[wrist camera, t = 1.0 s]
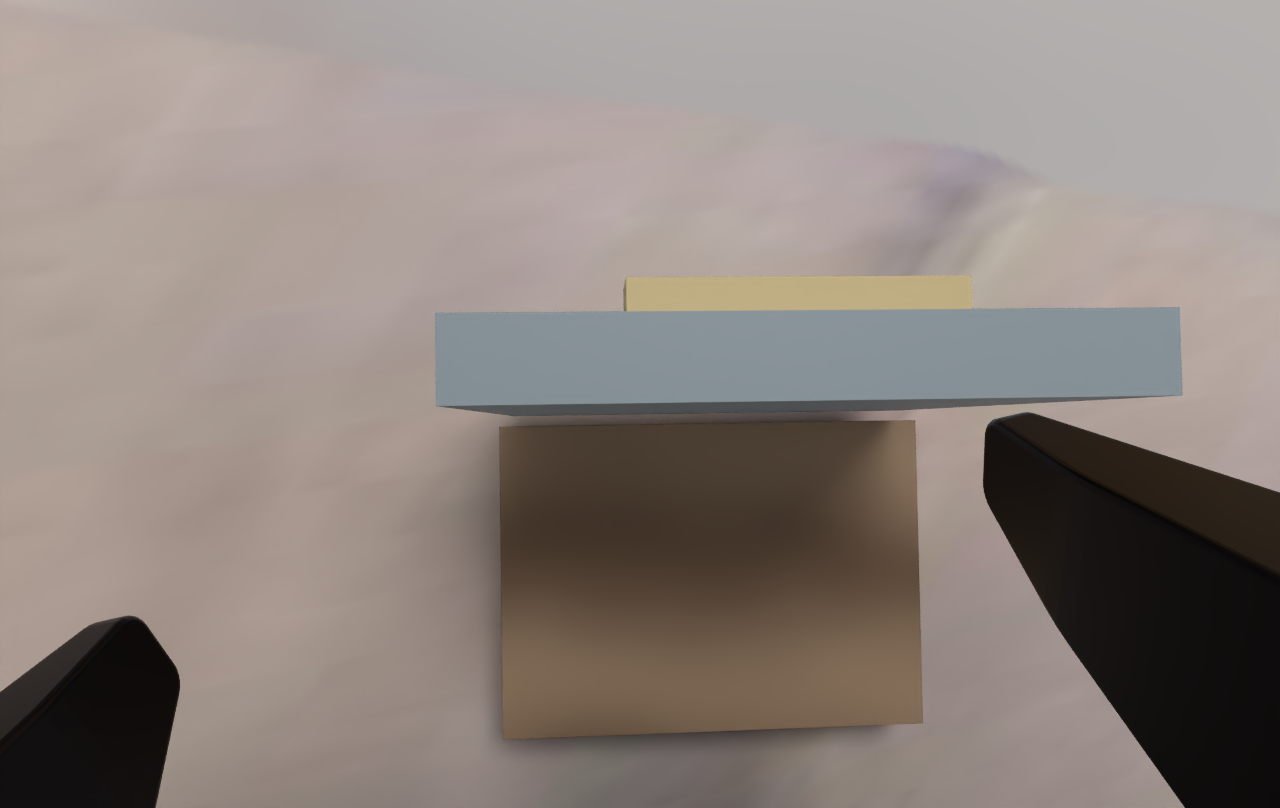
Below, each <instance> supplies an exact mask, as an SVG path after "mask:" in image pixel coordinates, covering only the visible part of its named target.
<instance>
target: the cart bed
mask: <svg viewBox="0 0 1280 808" xmlns="http://www.w3.org/2000/svg"><path fill="white" fill-rule="evenodd" d="M499 432H500V523H501V614H502V705H503V740H505V739H531V738H557V737H582V736H608V735H634V734H659V733H685V732H710V731H736V730H762V729H787V728H813V727H839V726H864V725H890V724H916V723H923V708H922V669H921V630H920V590H919V551H918V512H917V473H916V433H915V420H902V421H839V422H776V423H713V424H650V425H586V426H523V427H499Z"/></svg>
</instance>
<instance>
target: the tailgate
mask: <svg viewBox="0 0 1280 808" xmlns="http://www.w3.org/2000/svg"><path fill="white" fill-rule="evenodd" d="M623 292H624V311H616V312H480V313H435V339H436V406H440V407H448V408H455V409H463V410H471V411H479V412H487V413H495V414H502V415H510V416H553V415H619V414H686V413H752V412H819V411H885V410H913V409H933V408H952V407H971V406H990V405H1009V404H1028V403H1047V402H1066V401H1085V400H1104V399H1123V398H1143V397H1162V396H1181V395H1183V394H1182V366H1181V337H1180V308H1179V307H1160V308H1024V309H972V279H971V276H786V277H626V280H625V285H624V289H623Z"/></svg>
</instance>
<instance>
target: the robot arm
mask: <svg viewBox="0 0 1280 808" xmlns="http://www.w3.org/2000/svg"><path fill="white" fill-rule="evenodd" d="M983 488H984V493H985V497H986V500H987V503H988V505H989V507H990V509H991V511H992V513H993V514H994V516H995V518H996V520H997V522H998V523H999V525H1000V527H1001V529H1002V531H1003V532H1004V534H1005V536H1006V538H1007V540H1008V541H1009V543H1010V545H1011V547H1012V549H1013V550H1014V552H1015V554H1016V556H1017V558H1018V559H1019V561H1020V563H1021V565H1022V567H1023V568H1024V570H1025V572H1026V574H1027V576H1028V577H1029V579H1030V581H1031V583H1032V585H1033V586H1034V588H1035V590H1036V592H1037V594H1038V595H1039V597H1040V599H1041V601H1042V603H1043V604H1044V606H1045V608H1046V609H1047V611H1048V613H1049V615H1050V616H1051V618H1052V620H1053V621H1054V623H1055V625H1056V626H1057V628H1058V629H1059V631H1060V632H1061V634H1062V635H1063V637H1064V638H1065V640H1066V641H1067V643H1068V644H1069V646H1070V647H1071V648H1072V650H1073V651H1074V653H1075V654H1076V655H1077V657H1078V658H1079V660H1080V661H1081V662H1082V664H1083V665H1084V667H1085V668H1086V669H1087V671H1088V672H1089V674H1090V675H1091V677H1092V678H1093V679H1094V681H1095V682H1096V684H1097V685H1098V686H1099V688H1100V689H1101V691H1102V692H1103V693H1104V695H1105V696H1106V698H1107V699H1108V700H1109V702H1110V703H1111V705H1112V706H1113V707H1114V709H1115V710H1116V712H1117V713H1118V714H1119V716H1120V717H1121V719H1122V720H1123V721H1124V723H1125V724H1126V726H1127V727H1128V728H1129V730H1130V731H1131V733H1132V734H1133V735H1134V737H1135V738H1136V740H1137V741H1138V743H1139V744H1140V745H1141V747H1142V748H1143V750H1144V751H1145V752H1146V754H1147V755H1148V757H1149V758H1150V759H1151V761H1152V762H1153V764H1154V765H1155V766H1156V768H1157V769H1158V771H1159V772H1160V773H1161V775H1162V776H1163V778H1164V779H1165V780H1166V782H1167V783H1168V785H1169V786H1170V787H1171V789H1172V790H1173V792H1174V793H1175V794H1176V796H1177V797H1178V799H1179V800H1180V801H1181V803H1182V804H1183V806H1184V807H1185V808H1280V492H1276V491H1273V490H1270V489H1267V488H1264V487H1261V486H1258V485H1255V484H1252V483H1248V482H1245V481H1242V480H1239V479H1236V478H1233V477H1230V476H1227V475H1224V474H1221V473H1217V472H1214V471H1211V470H1208V469H1205V468H1202V467H1199V466H1196V465H1193V464H1189V463H1186V462H1183V461H1180V460H1177V459H1174V458H1171V457H1168V456H1165V455H1161V454H1158V453H1155V452H1152V451H1149V450H1146V449H1143V448H1140V447H1137V446H1134V445H1130V444H1127V443H1124V442H1121V441H1118V440H1115V439H1112V438H1109V437H1106V436H1102V435H1099V434H1096V433H1093V432H1090V431H1087V430H1084V429H1081V428H1078V427H1074V426H1071V425H1068V424H1065V423H1062V422H1059V421H1056V420H1053V419H1050V418H1047V417H1043V416H1040V415H1037V414H1034V413H1029V412H1025V413H1020V414H1015V415H1011V416H1006V417H1002V418H998V419H994V420H992V421H991V422H990V423H989V424H988V426H987V428H986V432H985V447H984V472H983ZM179 691H180V679H179V674H178V671H177V668H176V666H175V665H174V663H173V662H172V660H171V659H170V658H169V656H168V655H167V653H166V652H165V650H164V649H163V648H162V646H161V645H160V643H159V642H158V641H157V639H156V638H155V636H154V635H153V633H152V632H151V631H150V629H149V628H148V626H147V625H146V624H145V623H144V622H143V621H142V620H141V619H139V618H138V617H135V616H123V617H119V618H114V619H110V620H105V621H101V622H97V623H94V624H92V625H89V626H88V627H86V628H84V629H83V630H82V631H80V632H79V633H78V634H77V635H75V636H74V637H73V638H71V639H70V640H69V641H67V642H66V643H65V644H63V645H62V646H61V647H59V648H58V649H57V650H55V651H54V652H53V653H51V654H50V655H49V656H47V657H46V658H45V659H43V660H42V661H41V662H39V663H38V664H37V665H35V666H34V667H33V668H31V669H30V670H29V671H27V672H26V673H25V674H23V675H22V676H21V677H19V678H18V679H17V680H16V681H14V682H13V683H12V684H10V685H9V686H8V687H6V688H5V689H4V690H2V691H1V692H0V808H156V803H157V798H158V793H159V789H160V784H161V779H162V774H163V769H164V765H165V760H166V755H167V750H168V745H169V741H170V736H171V731H172V726H173V721H174V716H175V712H176V707H177V702H178V697H179Z"/></svg>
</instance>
